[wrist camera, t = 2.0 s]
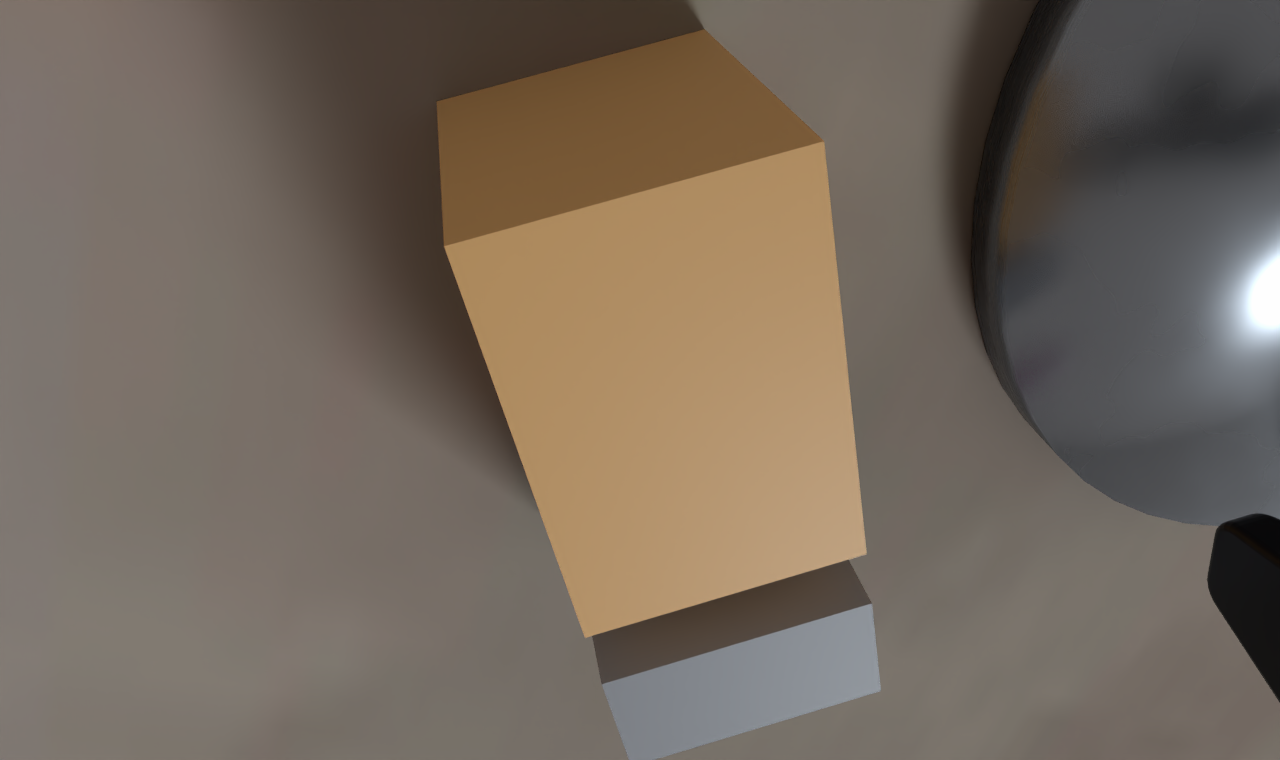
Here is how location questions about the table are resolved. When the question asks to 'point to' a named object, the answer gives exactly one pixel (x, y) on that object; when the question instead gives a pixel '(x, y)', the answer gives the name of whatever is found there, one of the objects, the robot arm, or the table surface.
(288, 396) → the table surface
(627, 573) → the tan and grey block
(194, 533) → the table surface
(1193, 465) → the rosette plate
